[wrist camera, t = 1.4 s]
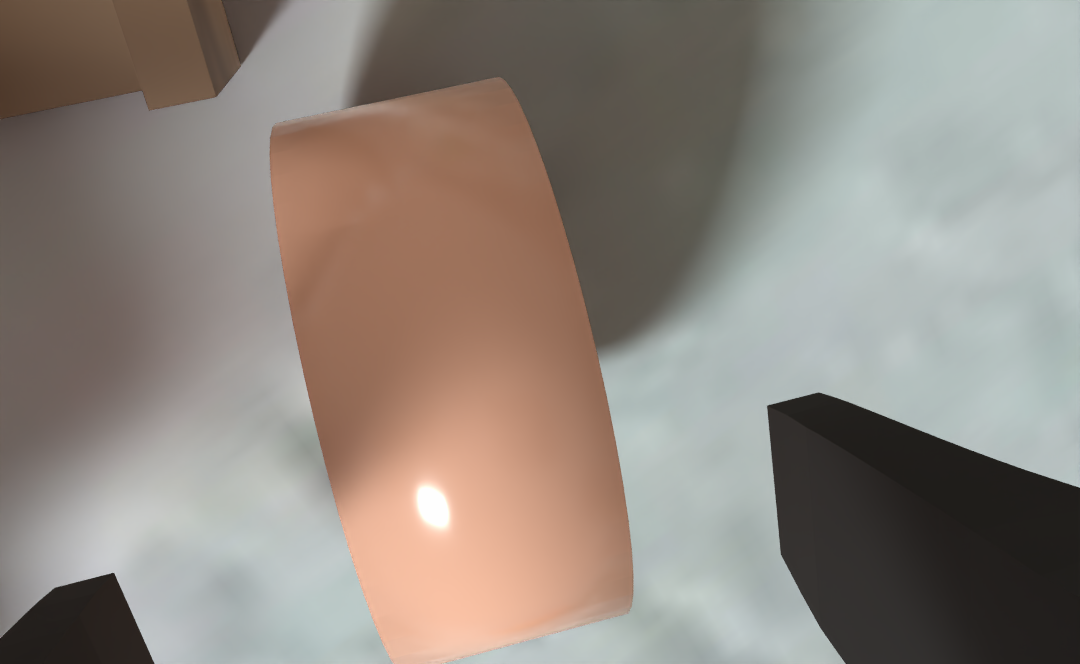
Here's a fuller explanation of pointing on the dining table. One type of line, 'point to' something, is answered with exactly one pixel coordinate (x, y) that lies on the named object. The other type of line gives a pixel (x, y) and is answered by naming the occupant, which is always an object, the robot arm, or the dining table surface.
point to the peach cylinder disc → (451, 371)
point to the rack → (112, 52)
